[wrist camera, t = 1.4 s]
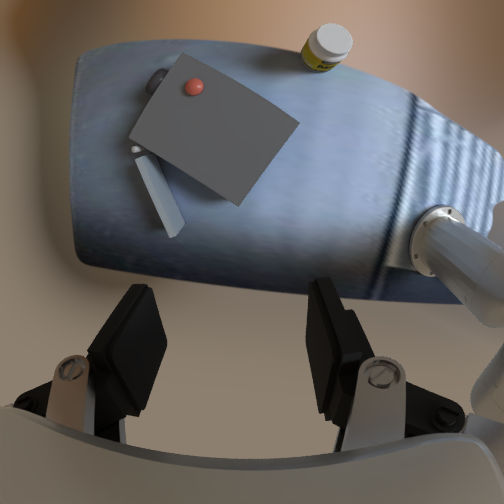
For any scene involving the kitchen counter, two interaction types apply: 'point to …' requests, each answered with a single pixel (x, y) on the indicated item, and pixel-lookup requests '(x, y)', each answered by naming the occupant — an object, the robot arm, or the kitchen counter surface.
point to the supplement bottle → (326, 47)
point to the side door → (160, 194)
